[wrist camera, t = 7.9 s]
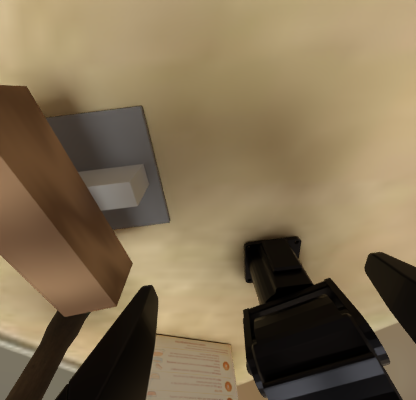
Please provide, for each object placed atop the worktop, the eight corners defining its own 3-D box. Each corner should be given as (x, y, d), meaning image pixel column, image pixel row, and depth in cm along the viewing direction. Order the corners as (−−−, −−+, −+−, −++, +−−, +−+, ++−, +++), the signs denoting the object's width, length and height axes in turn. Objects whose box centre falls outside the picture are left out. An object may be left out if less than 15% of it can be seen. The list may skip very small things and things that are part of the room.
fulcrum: (170, 219, 21) (164, 249, 17) (58, 233, 21) (26, 266, 17) (142, 105, 15) (123, 109, 12) (-8, 124, 16) (-77, 134, 12)
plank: (132, 263, 17) (116, 306, 14) (90, 272, 18) (64, 317, 14) (26, 86, 11) (-57, 82, 7) (-39, 105, 11) (-149, 111, 7)
